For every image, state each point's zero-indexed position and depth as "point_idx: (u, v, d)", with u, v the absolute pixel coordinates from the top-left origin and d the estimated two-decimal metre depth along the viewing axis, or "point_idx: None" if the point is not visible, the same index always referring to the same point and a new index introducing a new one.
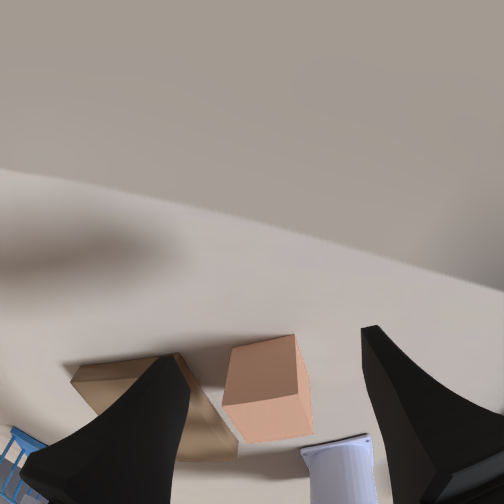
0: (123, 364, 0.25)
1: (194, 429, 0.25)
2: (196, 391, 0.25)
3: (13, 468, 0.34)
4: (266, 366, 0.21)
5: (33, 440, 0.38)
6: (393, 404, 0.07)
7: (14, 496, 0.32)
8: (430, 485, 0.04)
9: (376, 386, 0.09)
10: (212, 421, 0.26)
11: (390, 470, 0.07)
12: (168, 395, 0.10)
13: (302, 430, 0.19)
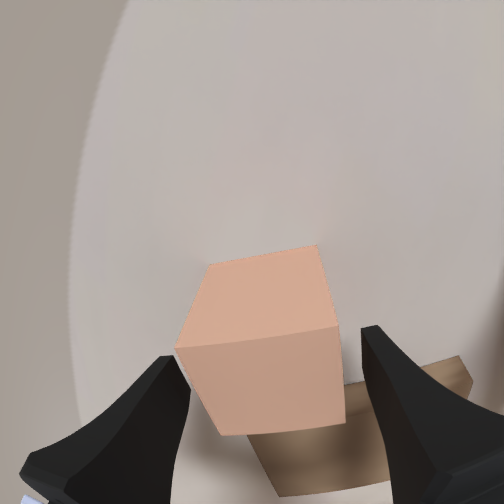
0: None
1: (374, 426, 0.15)
2: None
3: None
4: None
5: None
6: (393, 404, 0.07)
7: None
8: (430, 485, 0.04)
9: (376, 386, 0.09)
10: None
11: (390, 470, 0.07)
12: (168, 395, 0.10)
13: (314, 346, 0.09)
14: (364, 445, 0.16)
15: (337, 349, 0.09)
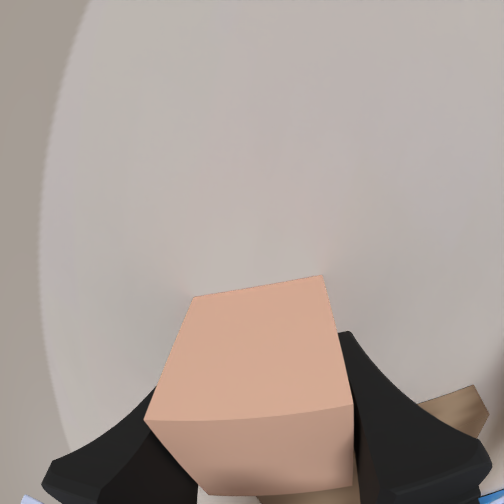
0: None
1: None
2: None
3: None
4: None
5: None
6: (356, 413, 0.07)
7: None
8: (379, 500, 0.04)
9: None
10: None
11: (358, 477, 0.07)
12: None
13: (320, 426, 0.06)
14: None
15: (349, 426, 0.06)
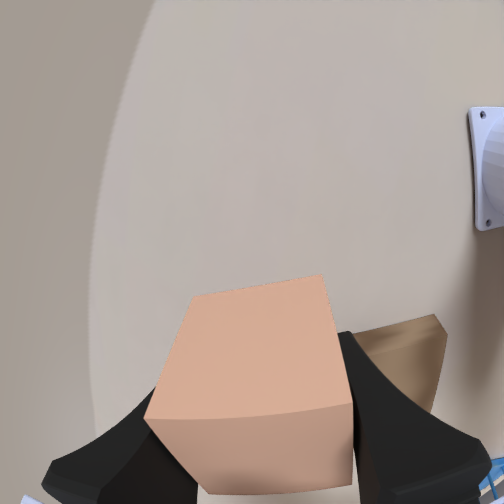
0: None
1: None
2: None
3: None
4: None
5: None
6: (356, 413, 0.07)
7: None
8: (379, 500, 0.04)
9: None
10: None
11: (358, 477, 0.07)
12: None
13: (319, 424, 0.06)
14: None
15: (348, 425, 0.06)
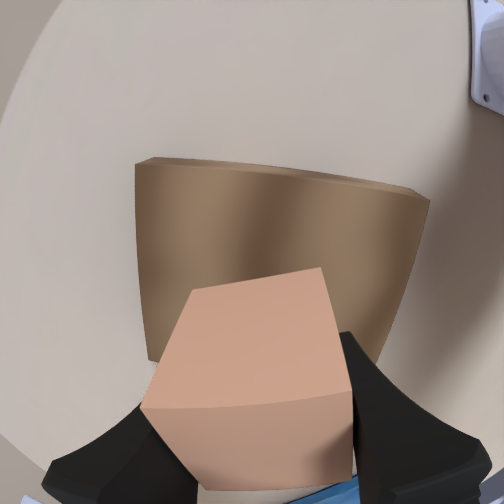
0: None
1: (295, 215, 0.14)
2: (221, 163, 0.15)
3: None
4: None
5: None
6: (356, 413, 0.07)
7: None
8: (379, 500, 0.04)
9: None
10: (300, 174, 0.14)
11: (358, 477, 0.07)
12: None
13: (318, 414, 0.06)
14: (277, 259, 0.15)
15: (348, 415, 0.06)
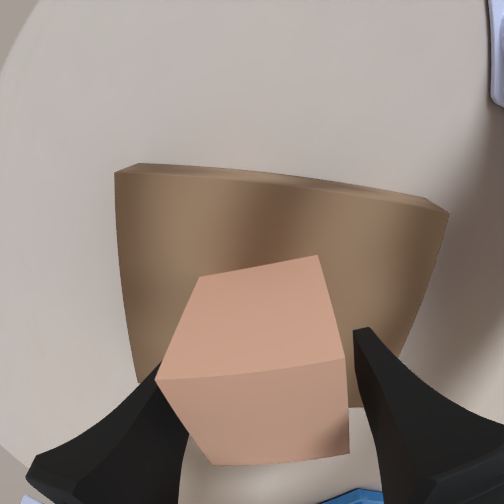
0: None
1: (298, 231, 0.12)
2: (213, 171, 0.13)
3: None
4: None
5: None
6: (382, 407, 0.07)
7: None
8: (415, 490, 0.04)
9: (367, 388, 0.09)
10: (303, 183, 0.12)
11: (381, 472, 0.07)
12: None
13: (316, 380, 0.07)
14: None
15: (342, 383, 0.07)
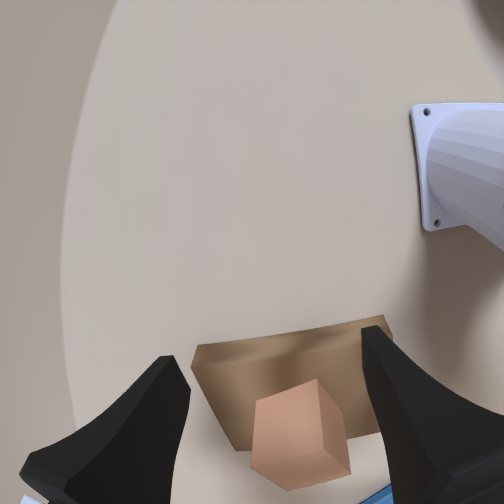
0: None
1: (301, 372, 0.20)
2: (245, 347, 0.22)
3: None
4: None
5: None
6: (393, 404, 0.07)
7: None
8: (430, 485, 0.04)
9: (376, 386, 0.09)
10: (298, 345, 0.20)
11: (390, 470, 0.07)
12: (168, 395, 0.10)
13: (316, 456, 0.15)
14: None
15: (327, 454, 0.15)
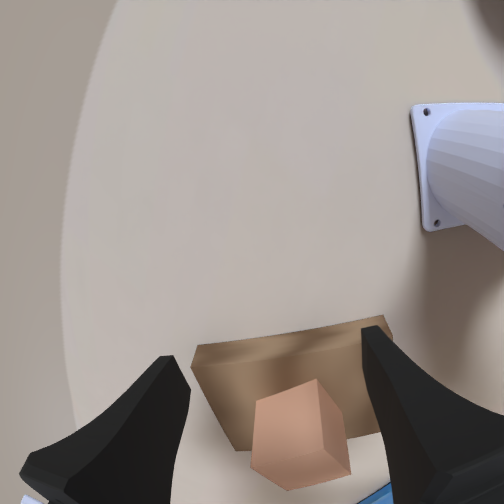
0: None
1: (301, 372, 0.20)
2: (245, 347, 0.22)
3: None
4: None
5: None
6: (393, 404, 0.07)
7: None
8: (430, 485, 0.04)
9: (376, 386, 0.09)
10: (298, 345, 0.20)
11: (390, 470, 0.07)
12: (168, 395, 0.10)
13: (316, 456, 0.15)
14: None
15: (327, 454, 0.15)
